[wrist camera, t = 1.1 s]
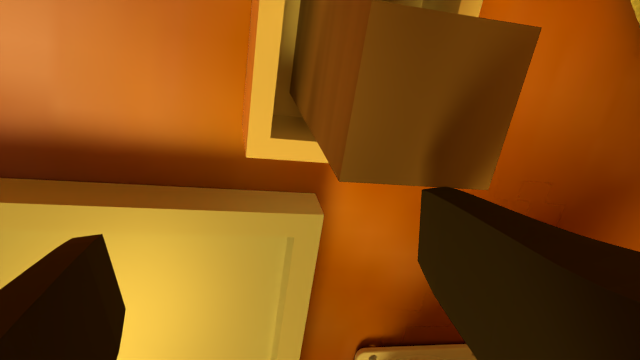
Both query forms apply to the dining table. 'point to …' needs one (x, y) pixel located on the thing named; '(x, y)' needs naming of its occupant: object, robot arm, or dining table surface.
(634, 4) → the washcloth
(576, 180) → the dining table surface
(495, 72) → the walnut peg
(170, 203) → the cream square frame
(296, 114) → the square open box
